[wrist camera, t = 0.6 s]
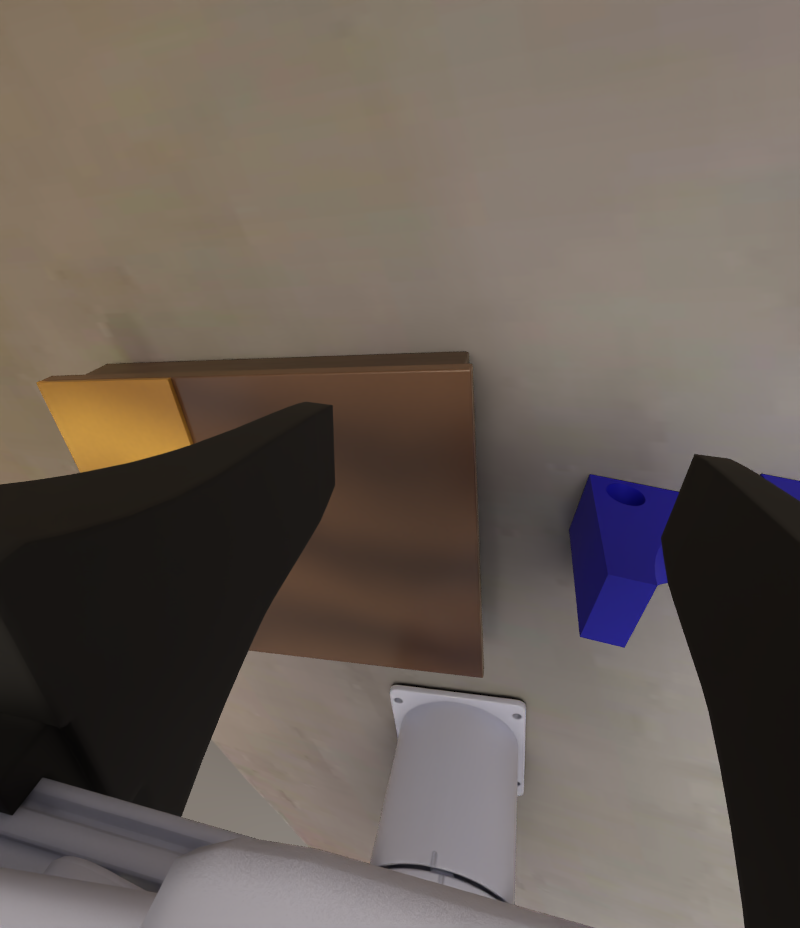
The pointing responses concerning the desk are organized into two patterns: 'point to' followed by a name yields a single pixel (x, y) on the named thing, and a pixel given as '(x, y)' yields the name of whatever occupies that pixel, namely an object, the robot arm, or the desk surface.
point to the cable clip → (622, 552)
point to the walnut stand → (352, 501)
